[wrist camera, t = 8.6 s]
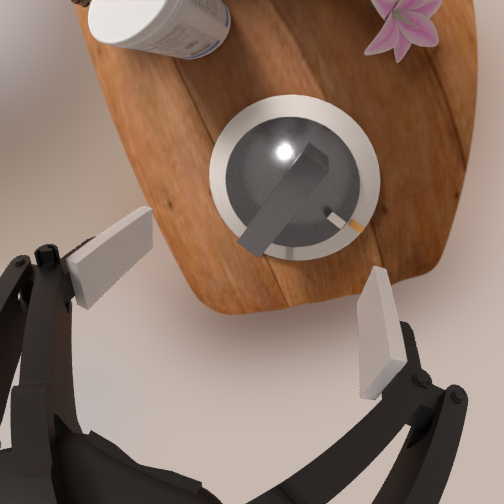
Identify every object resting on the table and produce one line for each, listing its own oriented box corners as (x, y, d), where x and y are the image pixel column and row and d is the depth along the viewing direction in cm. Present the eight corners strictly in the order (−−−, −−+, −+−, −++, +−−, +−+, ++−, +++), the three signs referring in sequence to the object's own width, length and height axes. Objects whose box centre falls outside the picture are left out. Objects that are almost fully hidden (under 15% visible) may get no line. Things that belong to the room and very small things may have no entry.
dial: (206, 195, 34) (170, 222, 27) (274, 90, 27) (253, 82, 19) (305, 265, 35) (296, 310, 28) (385, 174, 28) (406, 197, 20)
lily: (340, 62, 26) (387, 81, 19) (319, -27, 17) (364, -39, 11) (417, 56, 25) (470, 77, 18) (405, -23, 16) (460, -20, 10)
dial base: (212, 97, 30) (205, 97, 29) (382, 104, 26) (386, 103, 24) (219, 245, 40) (214, 252, 38) (365, 260, 35) (366, 269, 34)
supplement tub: (179, -5, 24) (109, -41, 11) (244, 3, 24) (193, -49, 11) (154, 55, 29) (74, 44, 16) (217, 68, 29) (148, 49, 16)
